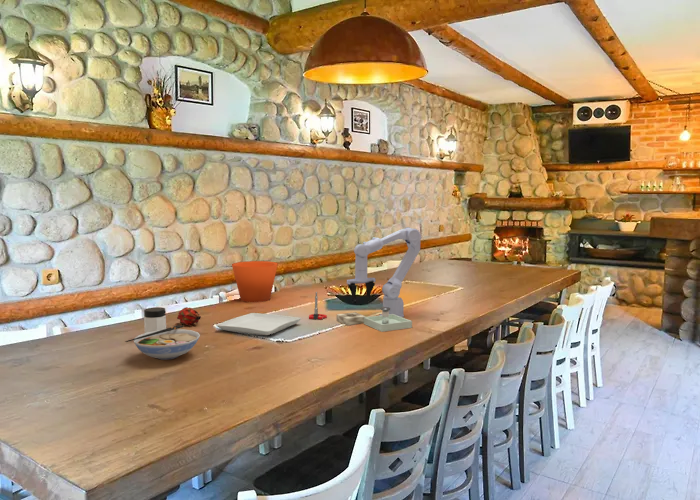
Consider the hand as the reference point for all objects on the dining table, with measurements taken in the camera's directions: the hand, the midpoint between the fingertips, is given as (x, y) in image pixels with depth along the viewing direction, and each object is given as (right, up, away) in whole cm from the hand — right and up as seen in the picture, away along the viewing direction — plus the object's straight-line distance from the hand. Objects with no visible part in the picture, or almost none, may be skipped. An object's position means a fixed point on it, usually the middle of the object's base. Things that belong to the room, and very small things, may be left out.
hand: (361, 298), depth 257 cm
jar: (-84, -13, -37) cm, 93 cm away
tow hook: (-21, -10, +1) cm, 23 cm away
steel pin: (+11, -10, -14) cm, 20 cm away
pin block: (-5, -10, -7) cm, 13 cm away
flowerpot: (-58, -5, +44) cm, 73 cm away
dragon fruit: (-77, -11, -14) cm, 79 cm away
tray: (+12, -11, -14) cm, 21 cm away
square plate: (-45, -12, -19) cm, 50 cm away
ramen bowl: (-71, -16, -61) cm, 95 cm away
